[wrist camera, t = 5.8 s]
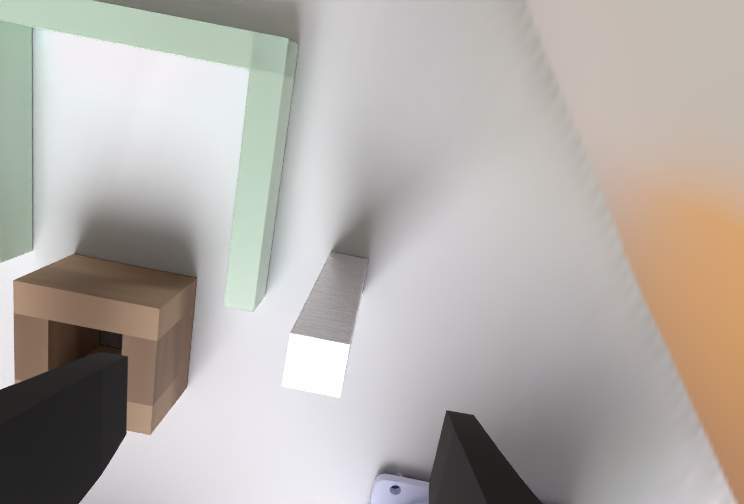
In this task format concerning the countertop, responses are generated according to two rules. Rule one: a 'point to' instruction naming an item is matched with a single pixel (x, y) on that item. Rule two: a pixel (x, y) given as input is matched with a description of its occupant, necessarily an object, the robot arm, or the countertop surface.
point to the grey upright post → (326, 327)
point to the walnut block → (108, 327)
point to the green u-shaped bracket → (171, 36)
